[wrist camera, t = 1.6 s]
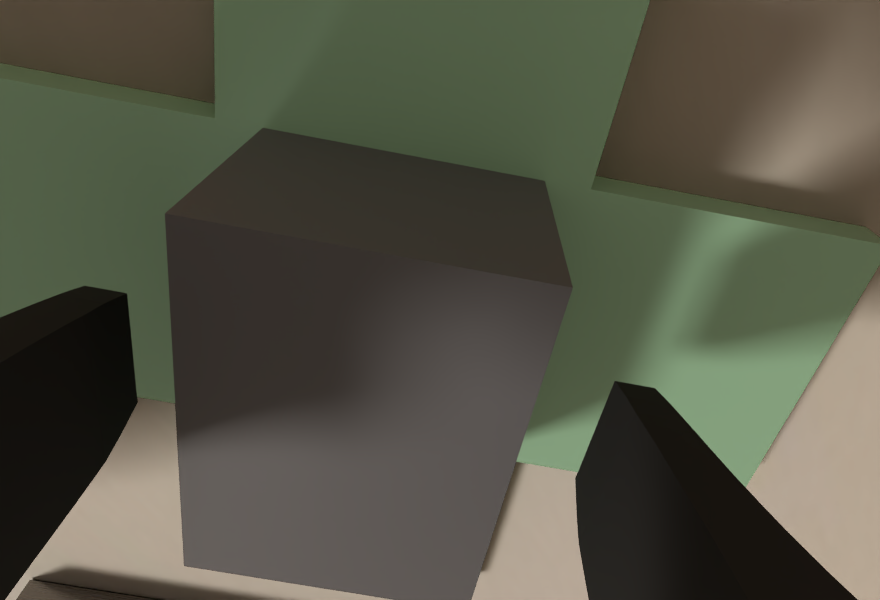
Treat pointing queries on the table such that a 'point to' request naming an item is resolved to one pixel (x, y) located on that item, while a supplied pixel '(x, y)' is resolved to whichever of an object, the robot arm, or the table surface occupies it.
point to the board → (462, 99)
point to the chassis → (68, 593)
